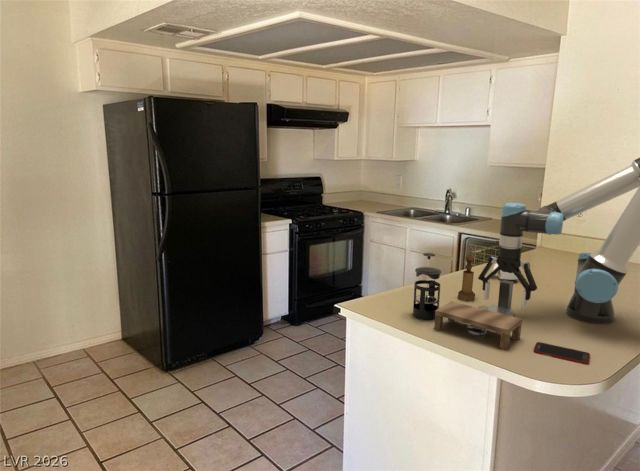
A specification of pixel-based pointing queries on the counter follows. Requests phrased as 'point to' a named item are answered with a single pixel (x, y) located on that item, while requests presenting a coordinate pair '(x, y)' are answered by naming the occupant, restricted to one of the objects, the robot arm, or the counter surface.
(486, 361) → the counter surface
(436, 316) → the low bench
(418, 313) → the french press
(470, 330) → the steel token
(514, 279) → the spread jar
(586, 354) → the cell phone
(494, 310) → the scraper
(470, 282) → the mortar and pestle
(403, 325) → the counter surface
